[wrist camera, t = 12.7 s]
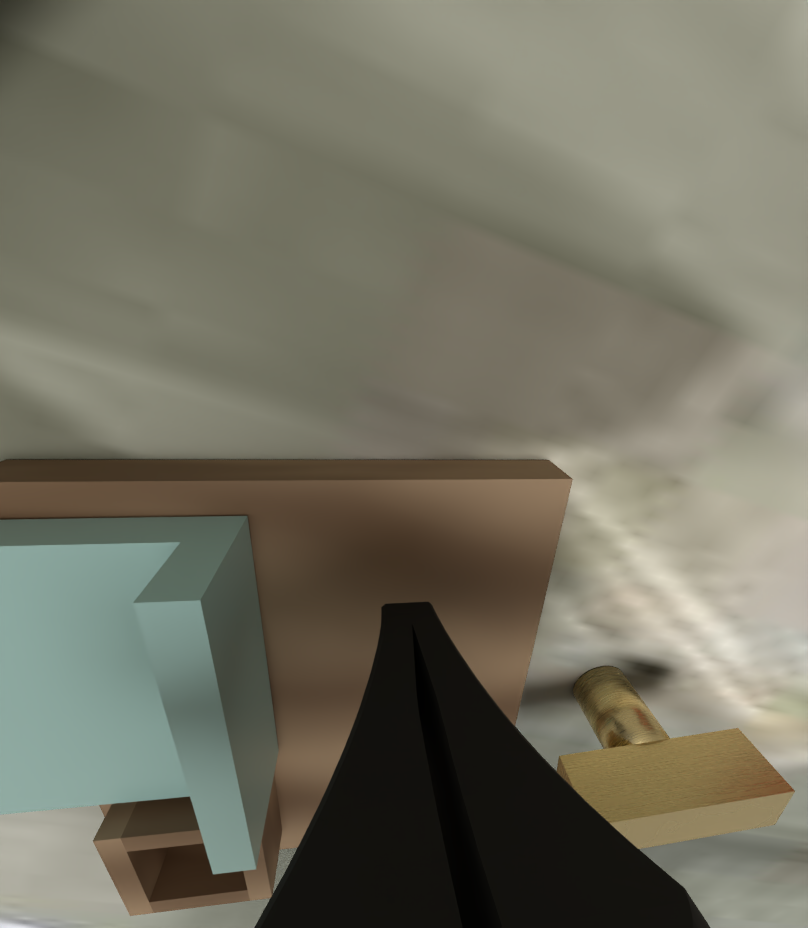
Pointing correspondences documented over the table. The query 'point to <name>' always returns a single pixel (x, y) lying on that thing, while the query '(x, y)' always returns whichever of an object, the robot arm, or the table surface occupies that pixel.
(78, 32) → the table surface
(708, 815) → the tan block with knob
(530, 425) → the table surface
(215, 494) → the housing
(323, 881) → the robot arm
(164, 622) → the cover
